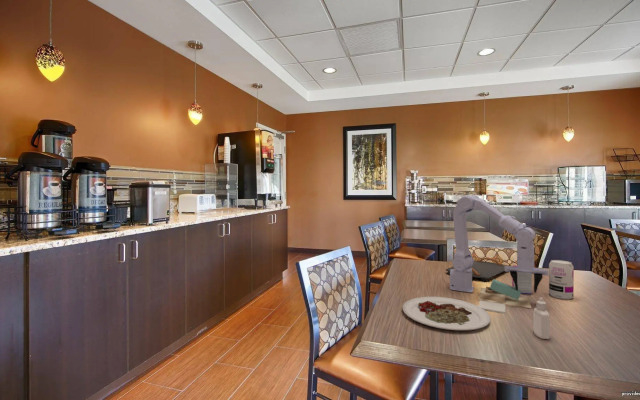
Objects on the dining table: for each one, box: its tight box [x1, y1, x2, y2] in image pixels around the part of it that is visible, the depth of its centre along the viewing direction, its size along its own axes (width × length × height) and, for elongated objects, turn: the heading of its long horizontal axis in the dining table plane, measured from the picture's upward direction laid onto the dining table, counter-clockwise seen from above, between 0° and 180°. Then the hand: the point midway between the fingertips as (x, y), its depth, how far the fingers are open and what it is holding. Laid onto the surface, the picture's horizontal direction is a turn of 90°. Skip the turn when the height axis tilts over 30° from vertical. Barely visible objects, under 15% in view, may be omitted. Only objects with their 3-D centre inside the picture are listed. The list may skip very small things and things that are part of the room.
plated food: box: [402, 296, 491, 331], centre depth 111 cm, size 30×30×3 cm
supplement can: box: [548, 259, 575, 301], centre depth 127 cm, size 8×8×15 cm
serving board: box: [445, 257, 508, 283], centre depth 168 cm, size 39×23×6 cm, turn 130°
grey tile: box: [477, 300, 506, 315], centre depth 117 cm, size 9×9×1 cm
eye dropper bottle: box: [532, 297, 551, 340], centre depth 94 cm, size 4×6×12 cm
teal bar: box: [489, 278, 522, 300], centre depth 124 cm, size 10×4×4 cm, turn 59°
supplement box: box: [511, 265, 533, 295], centre depth 134 cm, size 6×6×12 cm
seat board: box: [478, 286, 532, 310], centre depth 125 cm, size 18×12×4 cm, turn 58°
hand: (525, 290), depth 121 cm, fingers open, 5 cm apart
